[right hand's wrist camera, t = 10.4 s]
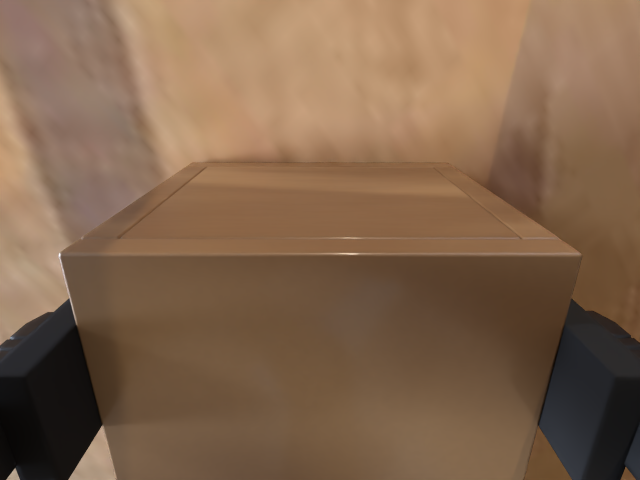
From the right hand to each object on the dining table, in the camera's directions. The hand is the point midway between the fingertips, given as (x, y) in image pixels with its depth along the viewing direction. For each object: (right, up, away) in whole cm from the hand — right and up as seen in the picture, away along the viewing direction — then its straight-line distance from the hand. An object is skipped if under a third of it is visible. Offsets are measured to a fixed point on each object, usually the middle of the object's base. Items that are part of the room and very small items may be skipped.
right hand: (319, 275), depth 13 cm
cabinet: (0, -4, +6) cm, 7 cm away
